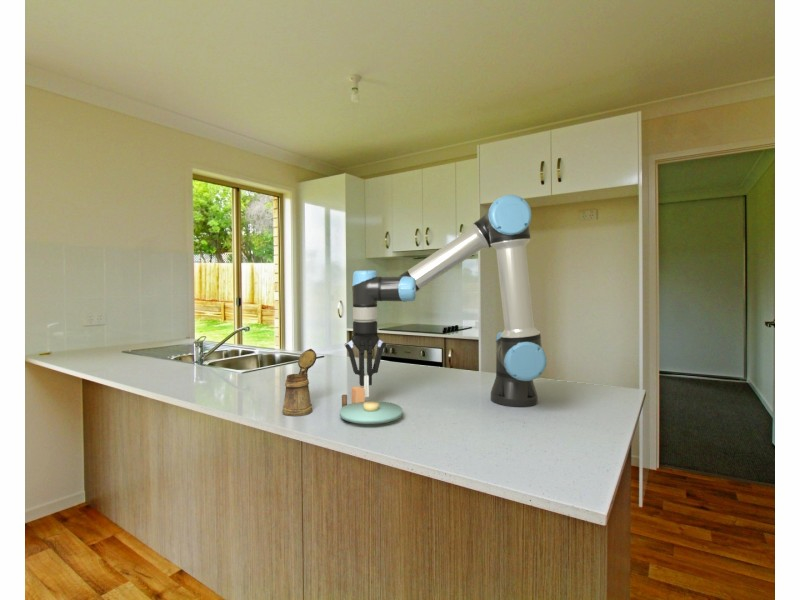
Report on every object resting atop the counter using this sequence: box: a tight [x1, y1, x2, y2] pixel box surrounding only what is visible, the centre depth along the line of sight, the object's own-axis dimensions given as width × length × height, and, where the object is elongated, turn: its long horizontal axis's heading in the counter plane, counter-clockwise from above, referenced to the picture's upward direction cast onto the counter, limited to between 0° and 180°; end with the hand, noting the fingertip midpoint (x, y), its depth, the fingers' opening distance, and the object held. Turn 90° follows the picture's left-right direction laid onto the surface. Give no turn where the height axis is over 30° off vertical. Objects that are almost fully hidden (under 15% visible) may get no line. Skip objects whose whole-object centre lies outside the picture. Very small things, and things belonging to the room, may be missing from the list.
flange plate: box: [339, 385, 403, 425], centre depth 127 cm, size 18×21×5 cm
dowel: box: [341, 394, 348, 408], centre depth 132 cm, size 2×2×5 cm
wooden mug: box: [281, 348, 318, 417], centre depth 133 cm, size 9×14×18 cm, turn 163°
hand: (365, 395), depth 135 cm, fingers closed
